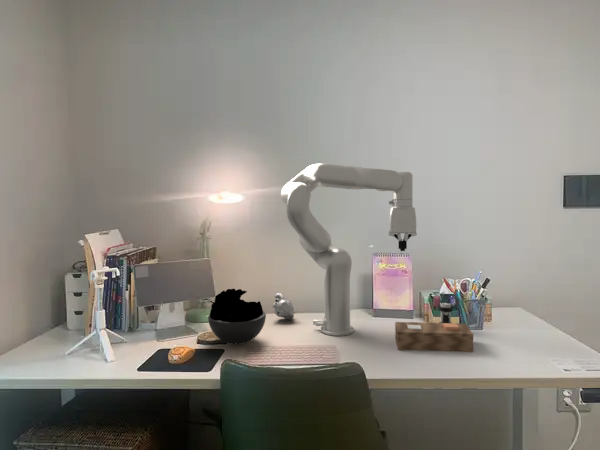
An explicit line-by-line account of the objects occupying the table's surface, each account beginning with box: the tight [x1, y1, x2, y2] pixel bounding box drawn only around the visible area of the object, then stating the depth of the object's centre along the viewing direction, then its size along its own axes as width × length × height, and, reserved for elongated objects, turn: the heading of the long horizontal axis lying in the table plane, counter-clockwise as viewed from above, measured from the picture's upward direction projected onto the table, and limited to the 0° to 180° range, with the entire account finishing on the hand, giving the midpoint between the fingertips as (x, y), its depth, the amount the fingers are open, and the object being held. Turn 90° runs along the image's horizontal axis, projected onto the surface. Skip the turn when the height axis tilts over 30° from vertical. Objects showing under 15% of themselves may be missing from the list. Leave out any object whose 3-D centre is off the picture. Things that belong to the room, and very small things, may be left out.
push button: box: [438, 302, 454, 323], centre depth 175 cm, size 7×5×10 cm
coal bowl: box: [207, 288, 267, 345], centre depth 163 cm, size 20×20×19 cm
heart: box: [271, 292, 295, 321], centre depth 191 cm, size 10×10×12 cm
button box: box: [394, 321, 474, 353], centre depth 159 cm, size 24×12×6 cm, turn 82°
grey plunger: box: [407, 325, 422, 330], centre depth 159 cm, size 4×4×6 cm
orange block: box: [443, 322, 459, 330], centre depth 158 cm, size 4×4×6 cm
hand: (402, 250), depth 183 cm, fingers closed
